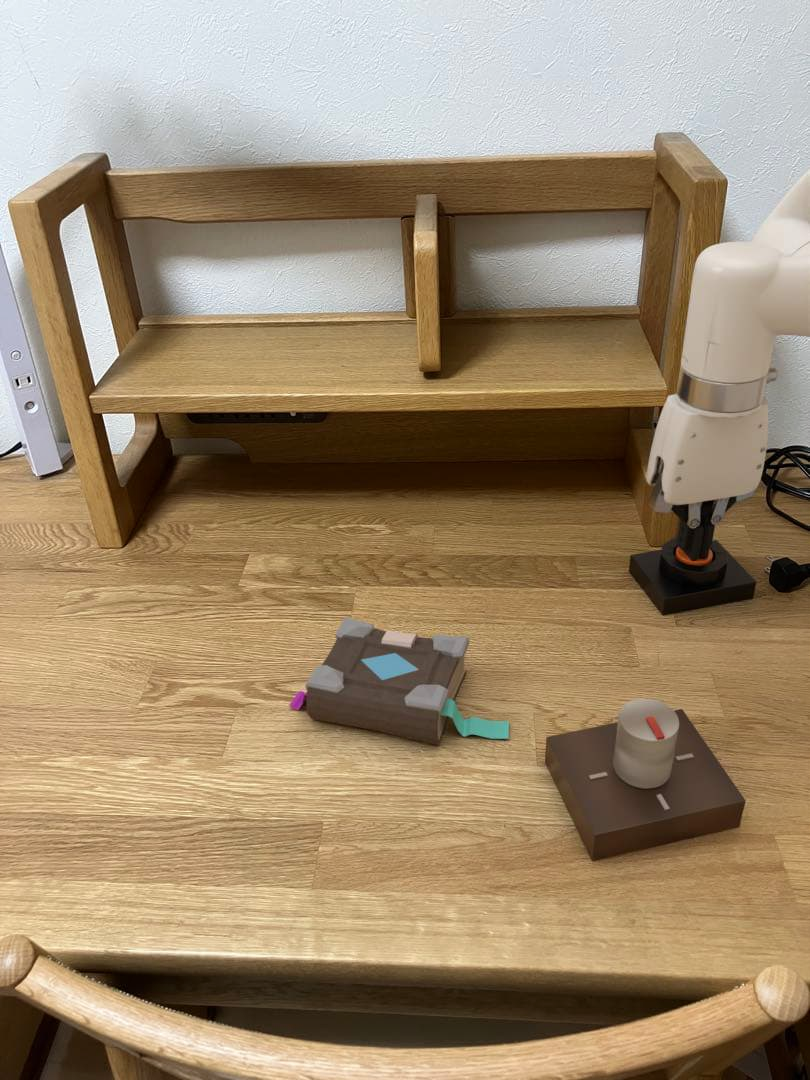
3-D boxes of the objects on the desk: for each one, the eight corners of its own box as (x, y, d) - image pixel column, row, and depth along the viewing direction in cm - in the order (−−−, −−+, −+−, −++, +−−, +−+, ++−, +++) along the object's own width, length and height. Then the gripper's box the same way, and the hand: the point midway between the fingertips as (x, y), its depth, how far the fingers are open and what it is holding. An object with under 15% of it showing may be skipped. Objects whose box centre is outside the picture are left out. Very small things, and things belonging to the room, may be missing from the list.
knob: (604, 750, 71) (610, 700, 68) (656, 741, 72) (664, 691, 69) (625, 793, 68) (632, 742, 65) (680, 783, 68) (690, 732, 65)
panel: (677, 734, 77) (682, 707, 75) (739, 826, 68) (746, 799, 67) (544, 762, 75) (546, 735, 73) (591, 861, 66) (594, 833, 65)
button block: (713, 556, 98) (719, 525, 96) (753, 599, 91) (760, 567, 89) (628, 571, 96) (631, 540, 94) (662, 616, 90) (667, 584, 88)
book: (529, 669, 84) (531, 627, 81) (501, 764, 75) (502, 721, 72) (332, 634, 90) (327, 594, 87) (282, 719, 80) (275, 678, 77)
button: (699, 553, 94) (702, 540, 93) (717, 573, 91) (719, 559, 90) (668, 559, 94) (670, 545, 93) (684, 579, 91) (686, 564, 90)
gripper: (772, 360, 86) (739, 522, 96) (626, 380, 83) (608, 544, 93) (819, 392, 80) (779, 561, 90) (663, 414, 77) (640, 585, 87)
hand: (692, 552), depth 91 cm, fingers closed
